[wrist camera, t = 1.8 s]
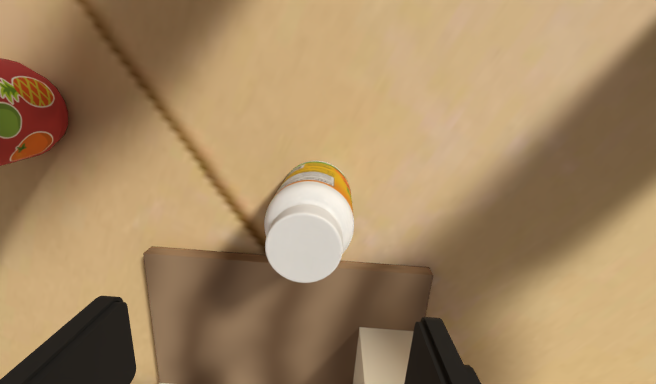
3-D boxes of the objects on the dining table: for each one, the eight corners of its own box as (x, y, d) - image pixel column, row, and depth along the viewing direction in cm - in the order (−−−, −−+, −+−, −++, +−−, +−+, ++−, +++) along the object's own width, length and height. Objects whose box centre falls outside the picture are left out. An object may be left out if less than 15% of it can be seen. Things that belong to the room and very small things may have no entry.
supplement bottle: (345, 226, 26) (349, 301, 16) (281, 219, 26) (249, 289, 16) (354, 163, 24) (364, 206, 15) (285, 155, 24) (252, 193, 15)
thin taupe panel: (429, 267, 27) (440, 289, 24) (404, 399, 31) (411, 432, 28) (151, 246, 27) (127, 266, 24) (167, 380, 31) (148, 411, 28)
